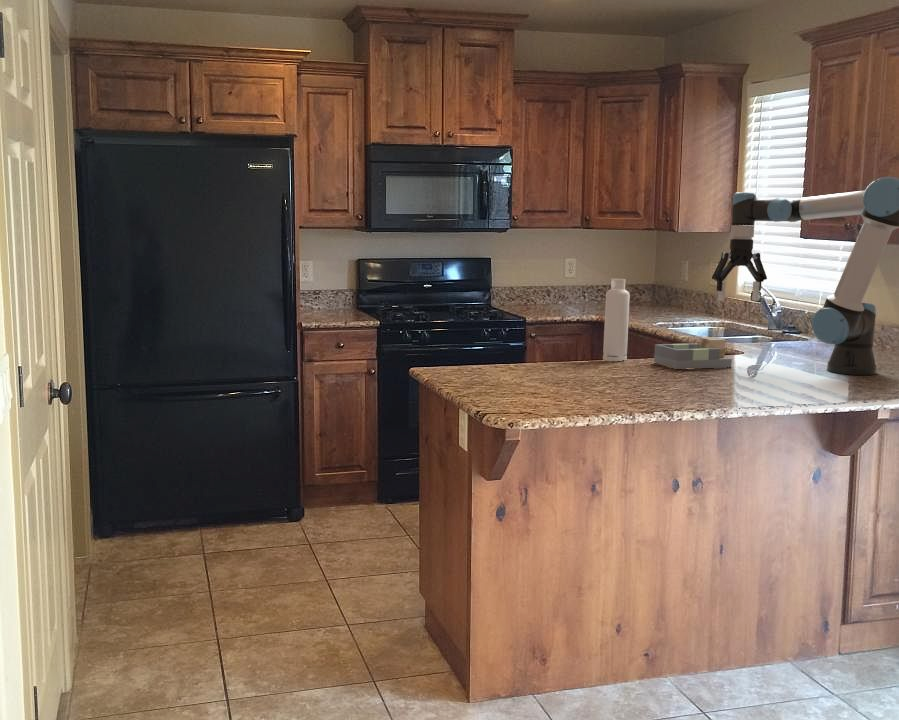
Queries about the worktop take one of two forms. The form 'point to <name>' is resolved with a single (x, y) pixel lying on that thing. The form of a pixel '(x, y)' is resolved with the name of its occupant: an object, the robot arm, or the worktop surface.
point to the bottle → (616, 321)
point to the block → (713, 344)
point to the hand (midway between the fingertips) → (738, 300)
